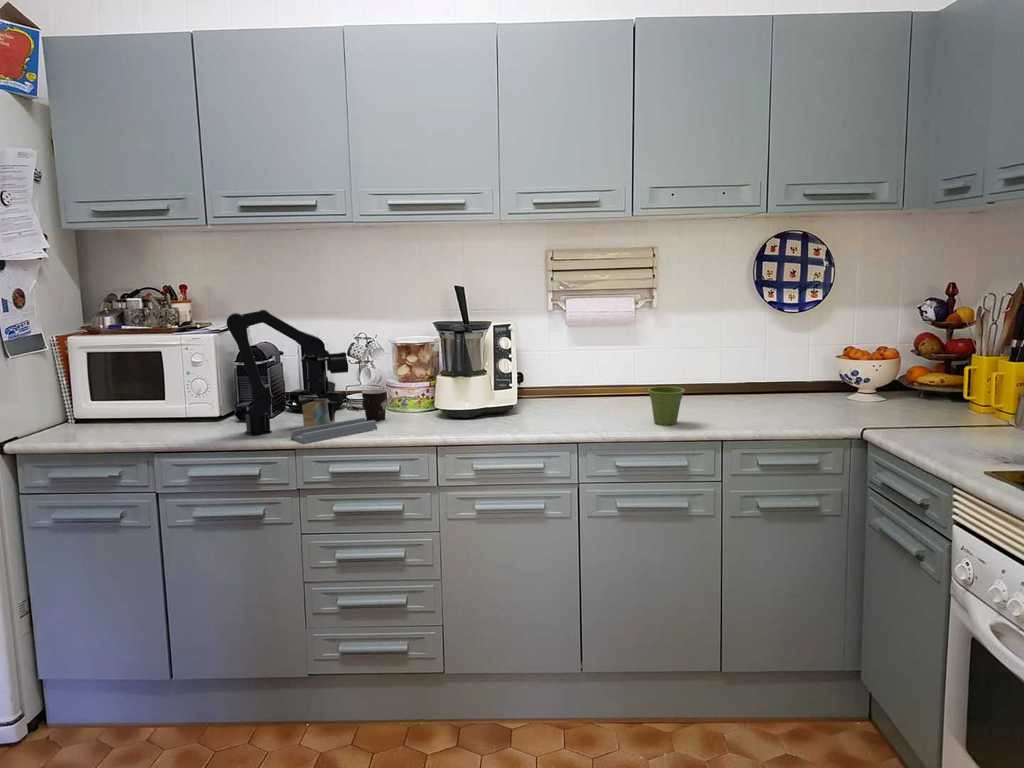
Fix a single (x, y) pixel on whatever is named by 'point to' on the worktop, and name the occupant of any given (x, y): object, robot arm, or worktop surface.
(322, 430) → the rail
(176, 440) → the worktop surface
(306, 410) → the tan rectangular block
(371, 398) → the coffee mug
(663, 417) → the plant pot
